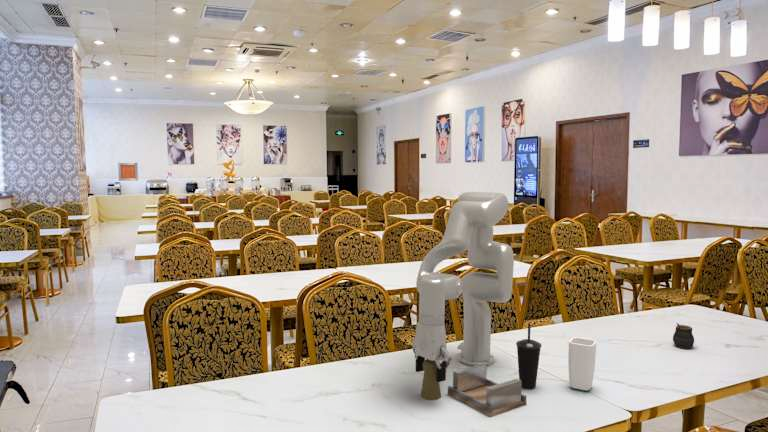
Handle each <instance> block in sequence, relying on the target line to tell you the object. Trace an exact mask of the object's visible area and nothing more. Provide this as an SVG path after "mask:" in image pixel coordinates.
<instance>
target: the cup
mask: <svg viewBox="0 0 768 432" xmlns="http://www.w3.org/2000/svg"><path fill="white" fill-rule="evenodd" d="M596 352H597V341H596V340H594V339H591V338H586V337H579V336H574V337H571V339H569V340H568V379H569V381H568V382H569V387H571V388H572V389H574V390H578V391H583V392H588V391H590V390H591V388H592V386H593V381H594V376H595V375H594V374H595V366H596V354H597V353H596Z"/></svg>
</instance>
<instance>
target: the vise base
mask: <svg viewBox="0 0 768 432" xmlns="http://www.w3.org/2000/svg"><path fill="white" fill-rule="evenodd" d="M521 382H522V381H521V380H519V378H515V379H511V380H507V381H503V382H500V383H498V382H495V381H493V380H490V379H488V378H486V384H485V385H482V386H479V387H475V388H472V389H469V390H465V391H462V392H461V391H459V390H457V389H455V388H453V386H451V385H448V386H447V395H448V396H449V397H451V398H453V399H456V400H457V401H458V402H461V403H463V404H464V405H466V406H468V407H471V408H472V409H474V410H476V411H479V412H480V413H482V414H485V415H486V416H488V417H491V418H492V417H495V416H497V415H500V414H503V413H506V412H509V411H512V410H514V409H517V408H520V407H523V406H526V405H527V395H524V394H522V387H521Z"/></svg>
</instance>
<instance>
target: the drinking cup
mask: <svg viewBox="0 0 768 432" xmlns="http://www.w3.org/2000/svg"><path fill="white" fill-rule="evenodd" d="M527 324H528V325H527V326H528V327H527V338H525V339H524V338H523V339H521V340H518V341H516V343H515V345H516V349H517V365H518V367H517V368H518V377H519V378H518V380H521V381H522V382H521V389H524V390H534V389H535V388H536V385H537V378H538V371H539V370H538V369H539V361H540V354H541V348H542V346H543V345H542V343H540V342H538V341H536V340H534V339H531V323H527Z"/></svg>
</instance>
